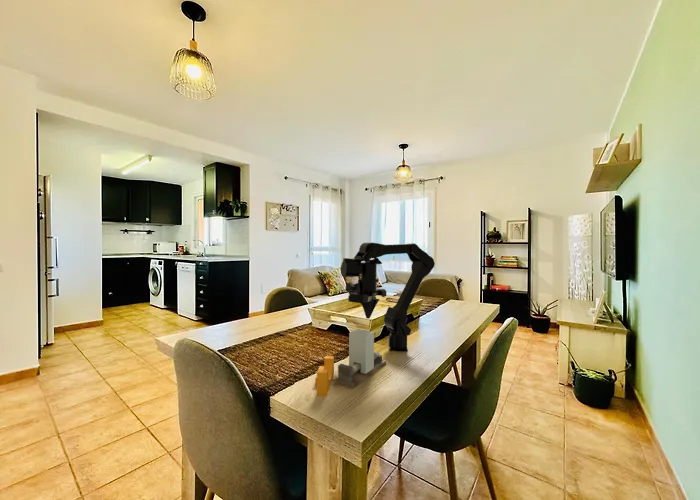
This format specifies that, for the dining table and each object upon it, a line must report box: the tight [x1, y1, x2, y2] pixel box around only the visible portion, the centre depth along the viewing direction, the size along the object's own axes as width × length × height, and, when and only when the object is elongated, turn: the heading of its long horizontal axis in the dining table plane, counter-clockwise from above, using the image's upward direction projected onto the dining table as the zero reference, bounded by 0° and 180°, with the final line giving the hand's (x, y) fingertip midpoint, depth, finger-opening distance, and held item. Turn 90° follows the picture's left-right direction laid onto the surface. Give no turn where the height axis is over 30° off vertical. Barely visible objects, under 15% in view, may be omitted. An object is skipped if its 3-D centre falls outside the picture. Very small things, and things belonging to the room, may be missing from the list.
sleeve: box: [348, 328, 375, 374], centre depth 94 cm, size 5×6×11 cm
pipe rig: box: [334, 350, 387, 390], centre depth 95 cm, size 21×6×6 cm, turn 146°
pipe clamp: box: [314, 355, 335, 397], centre depth 86 cm, size 12×4×6 cm, turn 174°
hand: (368, 318), depth 112 cm, fingers closed
